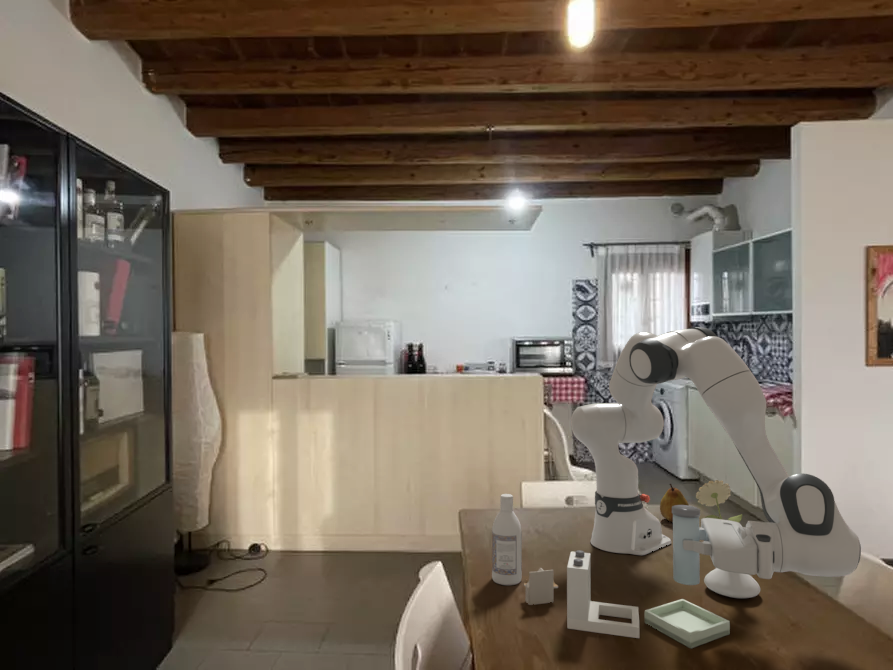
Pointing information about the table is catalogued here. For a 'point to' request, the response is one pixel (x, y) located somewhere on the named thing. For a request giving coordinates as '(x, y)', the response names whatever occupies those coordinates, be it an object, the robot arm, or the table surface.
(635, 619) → the base
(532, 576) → the architectural model
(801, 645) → the table surface
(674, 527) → the cylinder
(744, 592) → the flower in vase
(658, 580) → the table surface
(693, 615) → the tray
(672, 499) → the fruit
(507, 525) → the bath foam
